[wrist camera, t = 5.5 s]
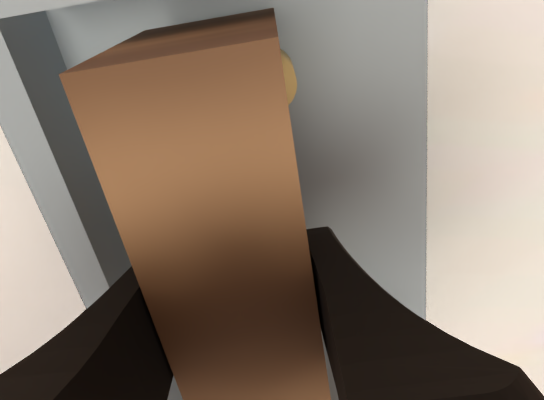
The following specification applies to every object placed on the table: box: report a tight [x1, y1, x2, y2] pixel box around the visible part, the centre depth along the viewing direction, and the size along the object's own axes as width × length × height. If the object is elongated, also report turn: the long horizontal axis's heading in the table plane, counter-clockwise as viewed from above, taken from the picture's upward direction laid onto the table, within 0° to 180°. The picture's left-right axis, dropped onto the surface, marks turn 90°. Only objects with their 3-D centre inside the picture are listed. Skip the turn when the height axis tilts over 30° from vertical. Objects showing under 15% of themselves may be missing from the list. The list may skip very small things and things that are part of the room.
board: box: [59, 8, 331, 400], centre depth 13 cm, size 12×4×6 cm, turn 9°
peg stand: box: [0, 0, 428, 400], centre depth 16 cm, size 18×14×6 cm
